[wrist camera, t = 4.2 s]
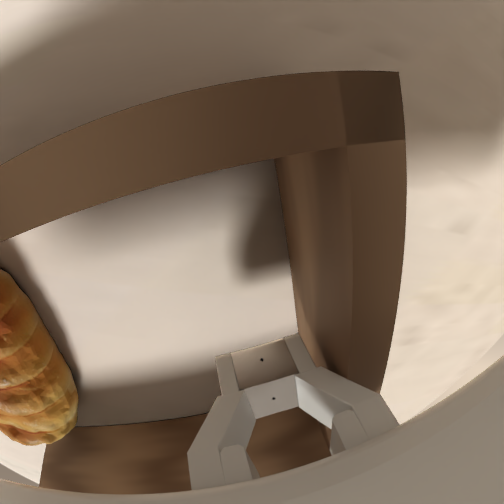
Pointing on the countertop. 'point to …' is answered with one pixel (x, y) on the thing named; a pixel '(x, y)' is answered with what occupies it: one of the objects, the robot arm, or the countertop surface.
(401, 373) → the countertop surface
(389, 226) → the u-shaped wooden frame
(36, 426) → the pastry
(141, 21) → the countertop surface
